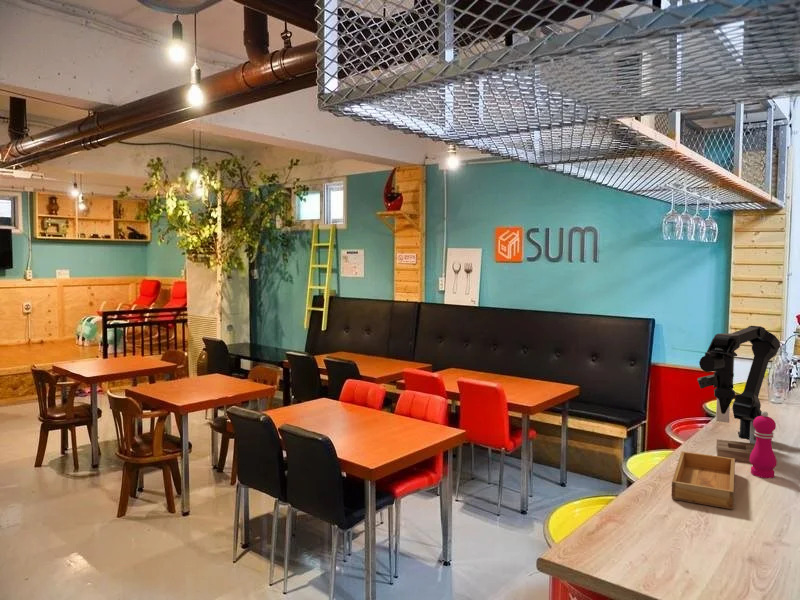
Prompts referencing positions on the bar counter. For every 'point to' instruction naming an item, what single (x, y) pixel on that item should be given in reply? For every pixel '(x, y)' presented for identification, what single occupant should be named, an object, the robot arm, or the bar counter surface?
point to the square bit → (719, 415)
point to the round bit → (752, 433)
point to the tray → (704, 480)
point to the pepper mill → (763, 447)
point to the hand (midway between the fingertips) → (722, 412)
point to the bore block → (734, 449)
